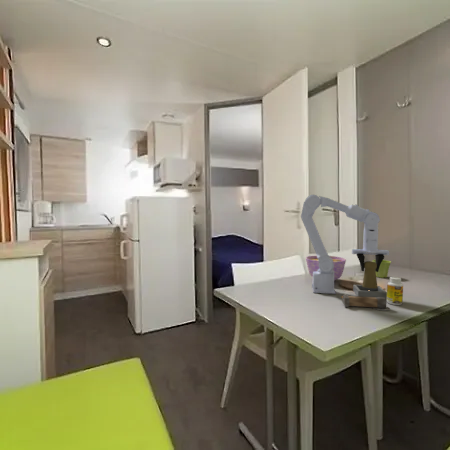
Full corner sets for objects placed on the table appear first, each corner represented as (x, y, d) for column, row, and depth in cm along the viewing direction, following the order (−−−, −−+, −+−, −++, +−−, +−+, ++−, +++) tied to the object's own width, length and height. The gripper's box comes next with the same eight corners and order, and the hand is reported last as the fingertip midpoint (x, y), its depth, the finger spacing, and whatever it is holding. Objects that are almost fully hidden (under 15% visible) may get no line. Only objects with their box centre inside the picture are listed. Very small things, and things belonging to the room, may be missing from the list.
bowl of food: (341, 277, 170) (342, 255, 169) (349, 286, 150) (350, 262, 150) (303, 275, 173) (304, 254, 173) (306, 284, 154) (307, 261, 153)
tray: (358, 297, 131) (358, 290, 131) (353, 290, 142) (353, 284, 142) (386, 299, 129) (386, 292, 129) (379, 292, 140) (379, 285, 140)
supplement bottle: (393, 306, 120) (394, 279, 119) (383, 301, 125) (384, 276, 125) (405, 305, 121) (406, 279, 121) (395, 300, 127) (396, 276, 126)
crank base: (374, 310, 115) (374, 309, 115) (370, 305, 121) (370, 304, 121) (392, 311, 114) (392, 310, 114) (387, 306, 120) (387, 305, 120)
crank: (384, 305, 119) (384, 296, 119) (388, 309, 115) (388, 300, 114) (342, 302, 123) (342, 294, 122) (344, 306, 118) (344, 297, 118)
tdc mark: (348, 298, 130) (348, 298, 130) (347, 298, 129) (347, 298, 129) (342, 296, 132) (342, 296, 132) (340, 297, 132) (340, 296, 132)
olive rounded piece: (360, 285, 137) (360, 260, 137) (374, 286, 137) (374, 260, 137) (365, 288, 131) (365, 261, 131) (380, 288, 131) (380, 262, 131)
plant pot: (391, 276, 172) (391, 260, 172) (389, 279, 164) (390, 263, 164) (372, 274, 177) (373, 259, 177) (370, 277, 169) (370, 261, 169)
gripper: (354, 240, 132) (353, 272, 132) (391, 241, 128) (390, 273, 129) (351, 238, 138) (350, 269, 139) (386, 239, 135) (385, 270, 136)
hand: (369, 271), depth 135 cm, fingers closed on olive rounded piece, 5 cm apart
